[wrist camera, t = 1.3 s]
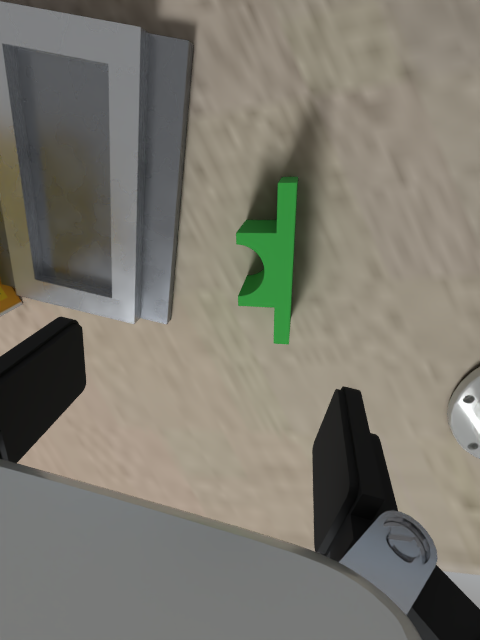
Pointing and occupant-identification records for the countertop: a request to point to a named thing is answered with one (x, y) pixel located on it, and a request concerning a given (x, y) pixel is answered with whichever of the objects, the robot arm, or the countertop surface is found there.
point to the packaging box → (8, 299)
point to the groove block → (91, 161)
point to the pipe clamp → (273, 259)
